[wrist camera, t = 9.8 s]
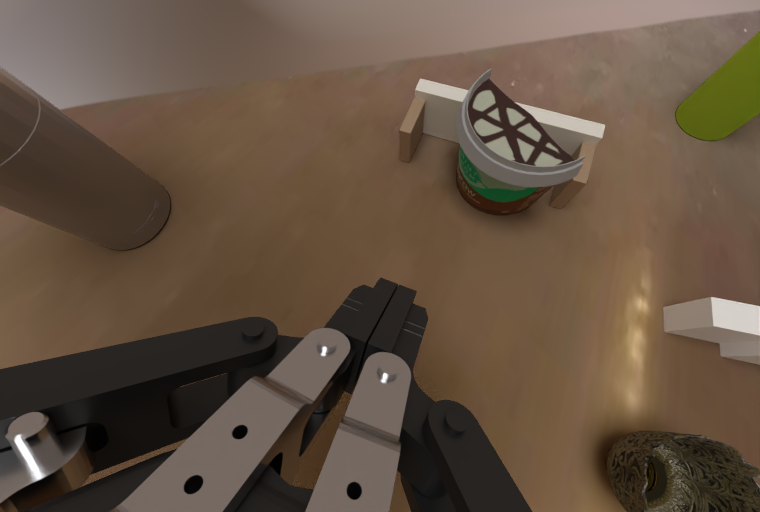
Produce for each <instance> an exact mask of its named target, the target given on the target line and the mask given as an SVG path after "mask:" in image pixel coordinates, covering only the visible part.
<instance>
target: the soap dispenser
mask: <svg viewBox="0 0 760 512" xmlns="http://www.w3.org/2000/svg"><path fill="white" fill-rule="evenodd" d="M759 113H760V31H759V32H758V33H757V34H756V35H755V36H754V37H753V38H752V39H750V40H749V41H748V42H747V43H746V44H745V45H744V46H743V47H742V48H741V49H740V50H739V51H738V52H736V53H735V54H734V55H733V56H732V57H731V58H730V59H729V60H728V61H727V62H726V63H725V64H724V65H722V66H721V67H720V68H719V69H718V70H717V71H716V72H715V73H714V74H713V75H712V76H711V77H710V78H708V79H707V80H706V81H705V82H704V83H703V84H702V85H701V86H700V87H699V88H698V89H697V90H696V91H694V92H693V93H692V94H691V95H690V96H689V97H688V98H687V99H686V100H685V101H684V102H683V103H682V104H680V106H679V107H678V108H677V110H676V120H677V122H678V124H679V126H680V127H681V128H682V129H683V130H684V131H685V132H686V133H688V134H689V135H691V136H693V137H695V138H698V139H702V140H708V141H714V140H720V139H723V138H725V137H726V136H728V135H729V134H731V133H732V132H734V131H735V130H736V129H738V128H739V127H741V126H742V125H744V124H745V123H746V122H748V121H749V120H751V119H752V118H754V117H755V116H756V115H758V114H759Z"/></svg>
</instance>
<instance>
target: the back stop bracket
mask: <svg viewBox="0 0 760 512" xmlns="http://www.w3.org/2000/svg"><path fill="white" fill-rule="evenodd" d="M467 93H468V90H464V89H460V88H456V87H452V86H448V85H444V84H440V83H436V82H432V81H428V80H424V79H420V81H419V83H418V85H417V87H416V89H415V98H414V100H413V102H412V105H411V107H410V109H409V111H408V113H407V115H406V117H405V119H404V122H403V124H402V126H401V128H400V130H399V133H400V160H401V161H405V162H408V163H410V160H411V158H412V156H413V154H414V151H415V149H416V147H417V145H418V142H419V140H420V138H421V135H422V133H424V134H428V135H431V136H435V137H438V138H442V139H445V140H449V141H453V142H456V143H459V141H458V137H457V132H456V118H457V114H458V111H459V108H460V106H461V104H462V102H463V100H464V98H465V97H466V95H467ZM515 103H516V102H515ZM516 104H518V105H519V106H521V107H522V108H523V109H525V110H526V111H527V112H529V113H530V114H531V115H532V116H533V117H534V118H535V119H536V120H537V121H538V123H539V124H540V125H541V126H542V128H543V129H544V130H545V131H546V132H547V134H548V135H549V136H550V137H551V138H552V139H553V140H554V141H555V142H556V143H557V144H558V145H559V146H560V147H561V148H562V149H563V150H564V151H565V152H566V153H568V154H569V155H571V157H572V158H573V159H574V160H577V159H579V158H581V157H583V156H585V158H584V159H583V160H582V162H583V163H584V164H583V166H582V167H581V169H580V171H579V173H578V175H577V176H576V177H574V178H572V179H570V180H568V181H565V182H563V183H560V184H557V185H555V186H554V190H553V193H552V197H551V201H550V204H549V206H552V207H556V208H559V209H561V208H562V207H563V206H564V205H565V204H566V203H567V202H568V201H569V200H570V199H571V198H572V197H573V196H574V195H575V194H577V193H578V192H579V191H580V190H581V189H582V188H583V187H584V186H585V185H586V184H587V180H588V175H589V171H590V167H591V163H592V159H593V155H594V151H595V147H596V145H597V143H598V142H599V141H600V140H601V139H602V136H603V132H604V128H605V125H603V124H599V123H595V122H591V121H587V120H583V119H579V118H575V117H571V116H568V115H564V114H560V113H556V112H552V111H548V110H544V109H540V108H536V107H532V106H528V105H524V104H520V103H516Z"/></svg>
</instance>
